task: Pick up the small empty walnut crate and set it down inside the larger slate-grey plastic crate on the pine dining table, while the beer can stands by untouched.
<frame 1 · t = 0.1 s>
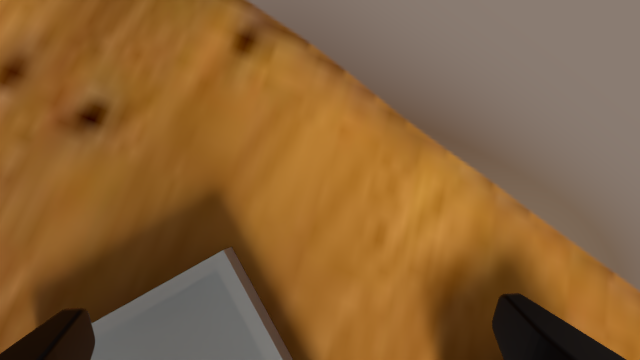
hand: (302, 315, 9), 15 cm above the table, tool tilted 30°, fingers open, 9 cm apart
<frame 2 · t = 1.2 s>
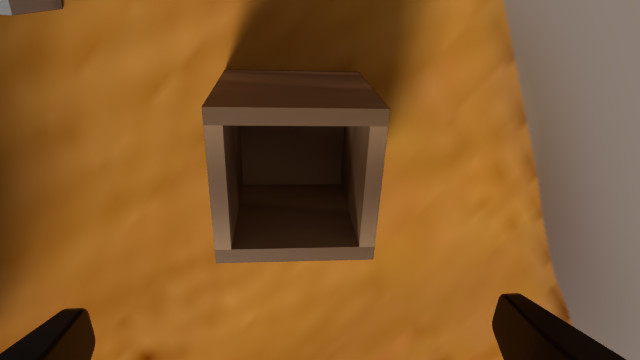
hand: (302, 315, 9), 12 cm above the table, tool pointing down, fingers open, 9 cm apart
walnut crate: (292, 134, 20), on the table
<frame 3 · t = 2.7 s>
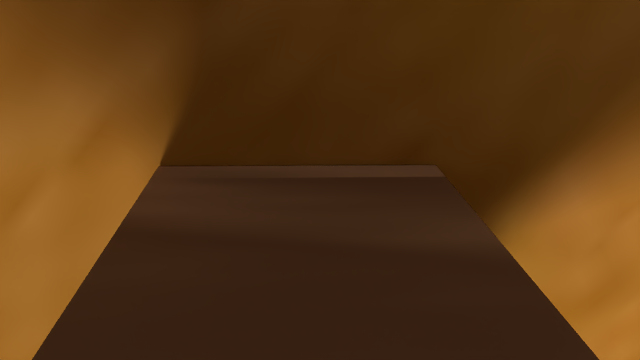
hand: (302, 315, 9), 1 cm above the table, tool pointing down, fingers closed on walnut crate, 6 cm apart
walnut crate: (299, 276, 10), on the table, touching gripper
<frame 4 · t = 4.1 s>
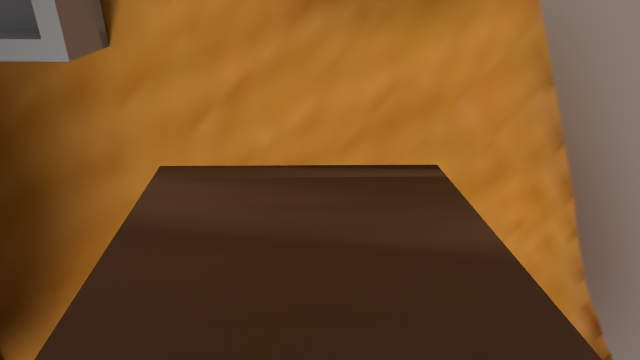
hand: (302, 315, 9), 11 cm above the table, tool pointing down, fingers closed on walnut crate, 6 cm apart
walnut crate: (301, 276, 10), point 10 cm above the table, touching gripper
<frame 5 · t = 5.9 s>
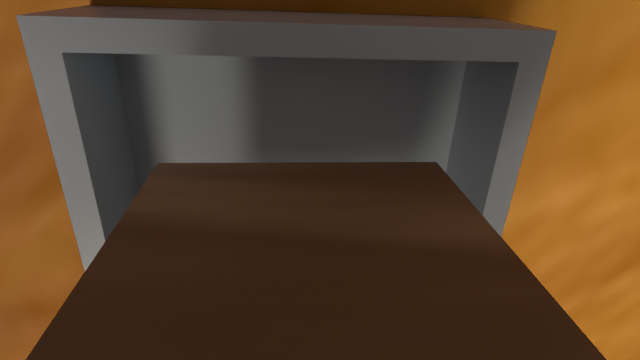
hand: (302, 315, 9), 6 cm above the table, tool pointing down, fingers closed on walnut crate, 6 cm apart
walnut crate: (299, 273, 10), point 5 cm above the table, touching gripper
grey crate: (295, 188, 14), on the table
when the fingers open (4 cm above the table, at t = 6.8 s): walnut crate drops 2 cm, resting on grey crate.
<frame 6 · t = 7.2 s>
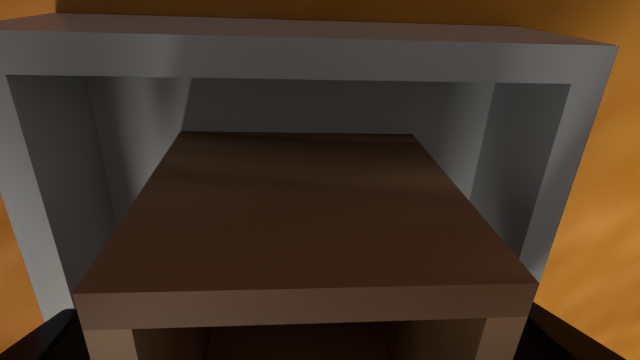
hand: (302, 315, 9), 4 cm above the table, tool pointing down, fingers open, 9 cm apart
walnut crate: (297, 230, 12), point 1 cm above the table, touching grey crate
grey crate: (296, 218, 13), on the table, touching walnut crate
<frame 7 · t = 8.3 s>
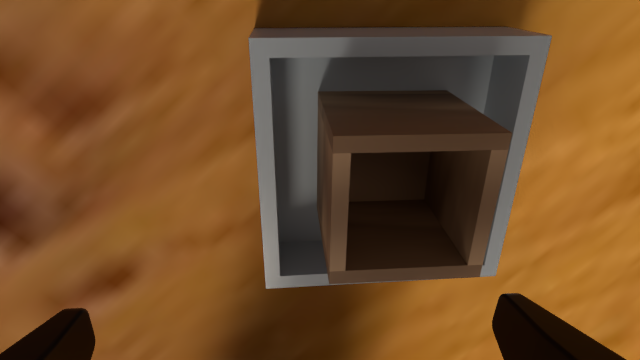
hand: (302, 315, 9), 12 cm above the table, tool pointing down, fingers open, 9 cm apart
walnut crate: (378, 151, 20), point 1 cm above the table, touching grey crate
grey crate: (375, 147, 21), on the table, touching walnut crate
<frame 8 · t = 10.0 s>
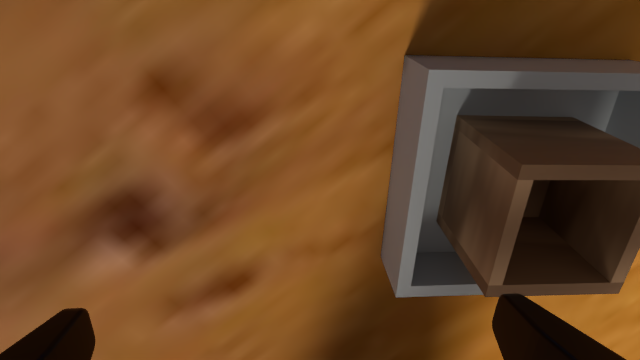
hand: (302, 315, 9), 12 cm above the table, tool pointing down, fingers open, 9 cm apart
walnut crate: (501, 171, 21), point 1 cm above the table, touching grey crate
grey crate: (495, 166, 22), on the table, touching walnut crate
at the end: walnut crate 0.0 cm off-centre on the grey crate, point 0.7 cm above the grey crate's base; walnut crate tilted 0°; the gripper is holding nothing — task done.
